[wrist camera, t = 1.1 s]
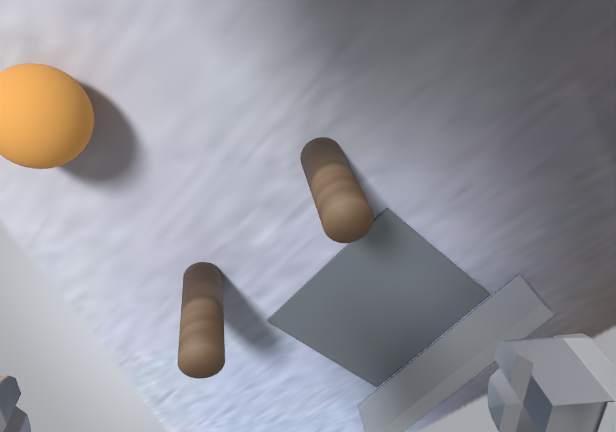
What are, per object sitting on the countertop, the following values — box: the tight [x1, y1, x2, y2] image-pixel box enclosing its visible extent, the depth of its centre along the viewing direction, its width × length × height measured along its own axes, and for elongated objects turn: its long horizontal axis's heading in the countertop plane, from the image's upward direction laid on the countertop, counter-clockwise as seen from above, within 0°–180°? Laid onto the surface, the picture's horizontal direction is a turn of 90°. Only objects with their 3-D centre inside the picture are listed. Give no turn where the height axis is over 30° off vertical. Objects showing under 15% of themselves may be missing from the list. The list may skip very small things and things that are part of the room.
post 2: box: [301, 137, 374, 243], centre depth 35 cm, size 3×3×9 cm
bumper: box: [358, 275, 555, 432], centre depth 49 cm, size 2×20×4 cm, turn 136°
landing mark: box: [267, 208, 490, 387], centre depth 47 cm, size 14×14×1 cm
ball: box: [0, 64, 94, 169], centre depth 32 cm, size 6×6×6 cm
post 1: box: [178, 262, 225, 378], centre depth 39 cm, size 3×3×9 cm
